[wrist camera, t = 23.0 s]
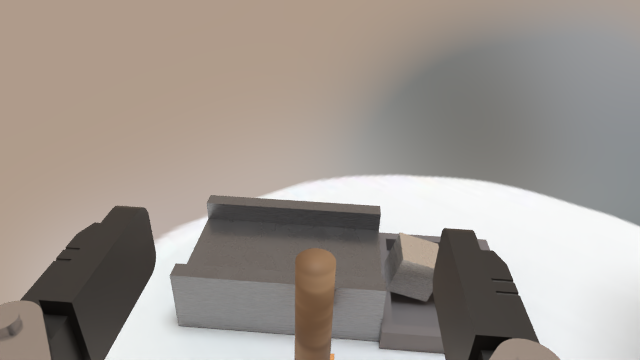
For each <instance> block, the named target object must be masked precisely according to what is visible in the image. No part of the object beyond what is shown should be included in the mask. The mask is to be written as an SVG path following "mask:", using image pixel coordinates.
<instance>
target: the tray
mask: <svg viewBox="0 0 640 360" xmlns="http://www.w3.org/2000/svg"><path fill="white" fill-rule="evenodd" d="M398 235H399V234H392V233H379V242H380V257H381V273H382V278H384V279H385V281H386V276H385V263H384V262H385V260H386V258H387V256H388V254H389V252H390V250H391V248H392V246H393V244H394V243H395V241H396V239H397V237H398ZM410 236H413V237H417V238H420V239H423V240H427V241H430V242H433V243H437V244H438V246H439V243H440V239H441V237H436V236H421V235H410ZM477 241H478V243H479V246H480V249H481V250H490V249H489V246H488V244H487V241H486V240H480V239H477ZM379 347H380V348H382V349H395V350H408V351H421V352H433V353H444V348H443V343H442V338H441V333H440V327H439V322H438V317H437V312H436V307H435V302H434V296H433V292H432V293H431V295H430V297H429V298H428V300H427V301H422V300H419V299H415V298H412V297H408V296H405V295H401V294H397V293H394V292H390V291H387V288H386V297H385V304H384V311H383V318H382V325H381V332H380V339H379Z"/></svg>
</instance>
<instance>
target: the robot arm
mask: <svg viewBox="0 0 640 360" xmlns="http://www.w3.org/2000/svg"><path fill="white" fill-rule="evenodd" d="M155 262H156V251H155V246H154V240H153V235H152V230H151V225H150V220H149V215H148V212H147V210H146V209H145V208H142V207H128V206H115V207H114V208H113V209H112V210H111V211H110V212H109V214H108V215H107V216H106V217H105V218H104V220H103V221H102V222H101V223H93V224H92V225H90V226H89V227H87V228H85V229H84V230H82V231H81V232H79V233H78V234H77V235H76V236H75V237H74V238H73V239H72V240H71V242H70V243H69V244H68V245H67V247H66V249H65V250H63V251H62V252H61V253H60V255H59V256H58V257H57V258H56V261H53V263H52V264H51V265H50V266H49V267H48V268H47V270H46V271H45V272H44V273H43V274H42V275H41V277H40V278H39V279H38V280H37V281H36V283H35V284H34V285H33V286H32V287H31V288H30V289H29V291H28V292H27V293H26V294H25V295H24V297H23V298H22V299H21V300H20V301H14V302H8V303H5V304H2V305H0V360H104V359H105V357H106V356H107V354H108V352H109V350H110V349H111V347H112V345H113V343H114V341H115V340H116V338H117V336H118V334H119V332H120V331H121V329H122V327H123V325H124V324H125V322H126V320H127V318H128V316H129V315H130V313H131V311H132V309H133V307H134V306H135V304H136V302H137V300H138V299H139V297H140V295H141V293H142V291H143V290H144V288H145V286H146V284H147V282H148V281H149V279H150V277H151V275H152V273H153V271H154V267H155ZM433 296H434V302H435V307H436V312H437V317H438V322H439V327H440V333H441V338H442V343H443V348H444V353H445V358H446V360H560V359H559V358H558V357H557V356H556V355H555V354H554V353H553V352H552V351H551V350H549V349H548V348H546V347H545V346H543V345H541V344H540V343H539V341H538V339H537V336H536V334H535V331H534V329H533V326H532V324H531V322H530V319H529V317H528V314H527V312H526V310H525V307H524V305H523V302H522V300H521V298H520V296H518V290H517V288H516V286H515V283H513V278H512V276H511V274H510V271H509V269H508V266H507V264H506V263H505V262H504V261H503V260H502V259H501V258H500V257H499V256H498V255H497V254H496V253H495V252H494V251H490V250H481V249H480V246H479V243H478V241H477V238H476V235H475V233H474V231H473V230H462V229H447V228H444V229H443V231H442V234H441V239H440V243H439V248H438V253H437V258H436V263H435V268H434V273H433Z"/></svg>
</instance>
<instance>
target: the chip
mask: <svg viewBox="0 0 640 360" xmlns="http://www.w3.org/2000/svg"><path fill="white" fill-rule="evenodd" d="M438 248H439V246H438V244H437V243H433V242H430V241H427V240H423V239H420V238H417V237H413V236H410V235H407V234H403V233H399V235H398V237H397V239H396V241H395V243H394V244H393V246H392V248H391V250H390V252H389V254H388V256H387V258H386V260H385V262H384V263H385V276H386V288H387V291H390V292H394V293H397V294H401V295H405V296H408V297H412V298H415V299H419V300H422V301H427V300H428V298H429V297H430V295H431V293H432V292H433V273H434V268H435V263H436V258H437V253H438Z"/></svg>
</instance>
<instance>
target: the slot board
mask: <svg viewBox="0 0 640 360" xmlns="http://www.w3.org/2000/svg"><path fill="white" fill-rule="evenodd" d="M207 209H208V218H209V219H208V221H207V223H206V225H205V227H204V229H203V231H202V233H201V236H200V238H199V240H198V242H197V244H196V246H195V248H194V250H193V252H192V254H191V256H190V259H189V261H188V263H187V264H175V266H174V268H173V270H172V272H171V274H170V279H171V285H172V290H173V296H174V301H175V307H176V313H177V318H178V324H179V326H189V327H202V328H215V329H228V330H240V331H253V332H266V333H279V334H292V335H295V259H296V257H297V255H298V254H299V253H300V252H302V251H304V250H306V249H311V248H319V249H324V250H327V251H329V252H330V253H332V254H333V255H334V257H335V259H336V272H335V288H334V303H333V319H332V334H331V338H343V339H356V340H369V341H379V339H380V332H381V325H382V318H383V311H384V304H385V297H386V281H385V279H384V278H382V273H381V257H380V242H379V224H380V216H381V213H380V206H369V205H354V204H338V203H323V202H307V201H292V200H276V199H261V198H246V197H245V198H244V197H230V196H215V195H211V196H210V198H209V200H208V202H207Z"/></svg>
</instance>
